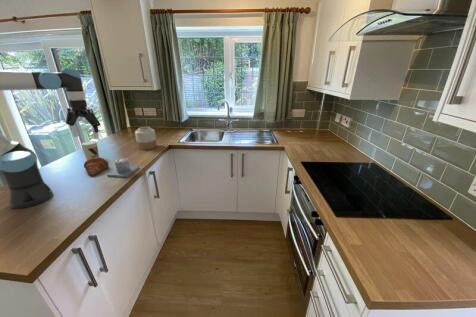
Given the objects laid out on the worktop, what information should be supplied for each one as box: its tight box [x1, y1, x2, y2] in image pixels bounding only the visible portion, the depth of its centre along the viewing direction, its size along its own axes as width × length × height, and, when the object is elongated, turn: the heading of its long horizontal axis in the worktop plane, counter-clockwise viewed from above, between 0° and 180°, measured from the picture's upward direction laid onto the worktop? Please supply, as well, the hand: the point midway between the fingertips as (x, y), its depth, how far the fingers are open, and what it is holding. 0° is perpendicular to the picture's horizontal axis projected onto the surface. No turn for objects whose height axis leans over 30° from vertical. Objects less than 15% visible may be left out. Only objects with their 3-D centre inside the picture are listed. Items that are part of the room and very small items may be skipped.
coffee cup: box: [80, 140, 100, 161], centre depth 148 cm, size 9×9×12 cm
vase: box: [134, 126, 158, 151], centre depth 173 cm, size 15×15×17 cm
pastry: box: [83, 157, 109, 177], centre depth 132 cm, size 17×15×8 cm
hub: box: [114, 157, 131, 173], centre depth 128 cm, size 7×7×7 cm
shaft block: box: [106, 158, 140, 179], centre depth 128 cm, size 14×12×8 cm
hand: (86, 137), depth 119 cm, fingers open, 13 cm apart
